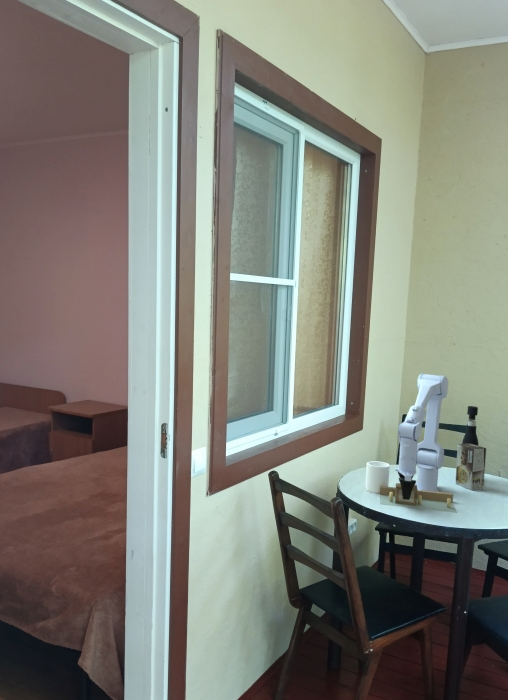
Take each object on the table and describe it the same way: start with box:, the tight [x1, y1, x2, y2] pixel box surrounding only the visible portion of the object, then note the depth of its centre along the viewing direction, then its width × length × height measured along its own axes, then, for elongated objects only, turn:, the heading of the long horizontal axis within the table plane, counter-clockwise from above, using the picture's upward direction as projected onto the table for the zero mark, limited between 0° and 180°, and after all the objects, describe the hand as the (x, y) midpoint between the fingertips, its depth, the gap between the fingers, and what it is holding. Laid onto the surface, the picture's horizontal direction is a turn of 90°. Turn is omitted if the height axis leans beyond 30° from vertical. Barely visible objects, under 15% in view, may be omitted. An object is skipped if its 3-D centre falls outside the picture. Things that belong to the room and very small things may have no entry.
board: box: [379, 486, 457, 514], centre depth 195 cm, size 12×25×4 cm, turn 78°
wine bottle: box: [461, 405, 480, 446], centre depth 228 cm, size 6×6×30 cm
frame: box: [395, 482, 418, 506], centre depth 194 cm, size 4×7×6 cm, turn 78°
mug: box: [364, 460, 390, 494], centre depth 209 cm, size 12×8×10 cm
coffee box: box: [455, 443, 487, 491], centre depth 219 cm, size 9×6×16 cm
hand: (405, 495), depth 194 cm, fingers open, 7 cm apart
